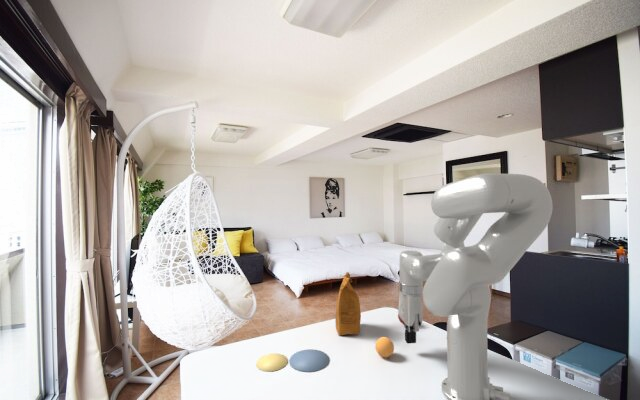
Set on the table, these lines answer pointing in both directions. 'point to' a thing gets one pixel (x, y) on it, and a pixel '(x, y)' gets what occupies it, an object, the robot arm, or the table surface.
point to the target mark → (309, 360)
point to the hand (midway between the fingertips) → (410, 341)
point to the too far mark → (272, 362)
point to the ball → (384, 347)
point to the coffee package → (347, 309)
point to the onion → (401, 320)
